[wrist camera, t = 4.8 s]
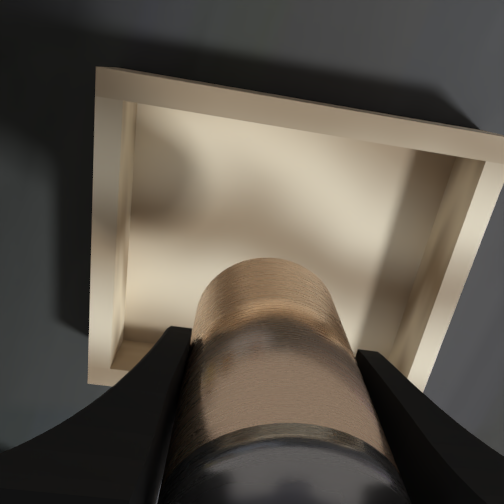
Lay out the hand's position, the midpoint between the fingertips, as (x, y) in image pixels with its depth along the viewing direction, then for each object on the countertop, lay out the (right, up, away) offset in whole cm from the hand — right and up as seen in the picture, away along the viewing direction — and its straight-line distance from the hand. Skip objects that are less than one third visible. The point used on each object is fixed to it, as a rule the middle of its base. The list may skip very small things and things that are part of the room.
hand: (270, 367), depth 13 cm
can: (0, +1, +2) cm, 2 cm away
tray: (+1, +3, +9) cm, 9 cm away
